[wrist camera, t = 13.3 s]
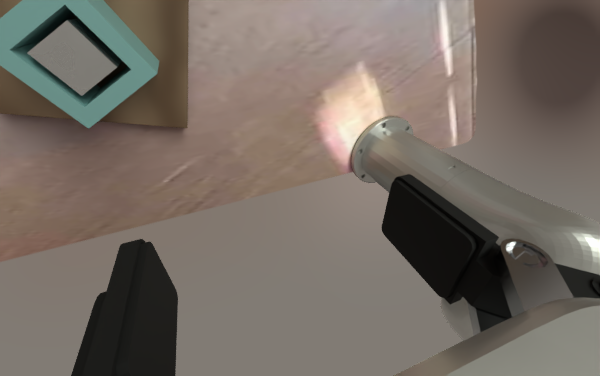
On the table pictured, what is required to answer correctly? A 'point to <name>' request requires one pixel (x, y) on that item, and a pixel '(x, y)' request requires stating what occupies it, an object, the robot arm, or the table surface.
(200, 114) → the table surface
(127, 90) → the collar
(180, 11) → the post board
